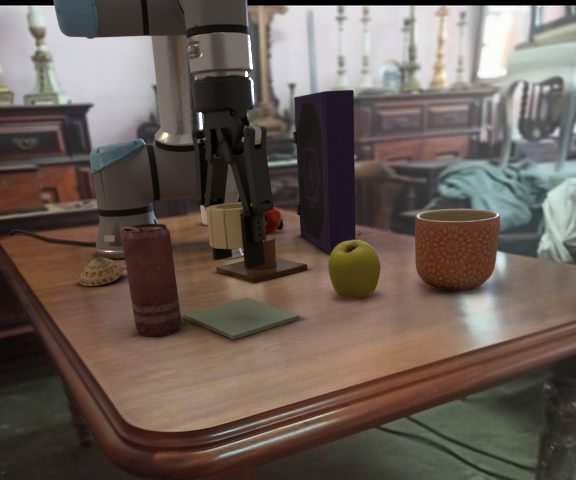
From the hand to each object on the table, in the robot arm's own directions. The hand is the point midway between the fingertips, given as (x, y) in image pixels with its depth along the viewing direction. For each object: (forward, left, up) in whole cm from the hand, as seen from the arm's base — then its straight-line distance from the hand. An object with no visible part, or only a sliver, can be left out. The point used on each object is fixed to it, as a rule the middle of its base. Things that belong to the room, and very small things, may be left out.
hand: (238, 261), depth 80 cm
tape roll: (0, 0, +2) cm, 2 cm away
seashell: (-38, -5, -8) cm, 39 cm away
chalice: (-36, +22, -8) cm, 43 cm away
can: (-5, -11, -8) cm, 14 cm away
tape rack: (-20, +18, -8) cm, 28 cm away
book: (-29, +42, -8) cm, 52 cm away
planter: (+12, +32, -8) cm, 35 cm away
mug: (-74, +45, -8) cm, 87 cm away
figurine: (-51, +39, -8) cm, 65 cm away
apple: (+4, +18, -8) cm, 20 cm away
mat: (0, 0, -8) cm, 8 cm away
